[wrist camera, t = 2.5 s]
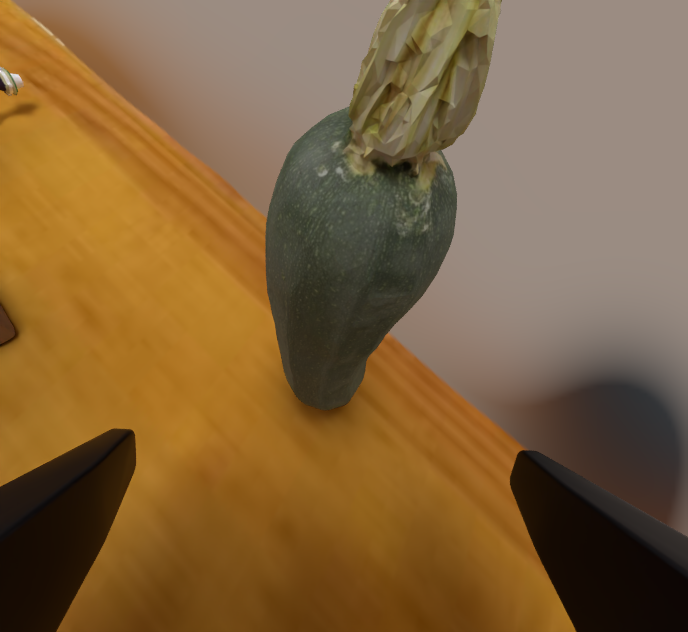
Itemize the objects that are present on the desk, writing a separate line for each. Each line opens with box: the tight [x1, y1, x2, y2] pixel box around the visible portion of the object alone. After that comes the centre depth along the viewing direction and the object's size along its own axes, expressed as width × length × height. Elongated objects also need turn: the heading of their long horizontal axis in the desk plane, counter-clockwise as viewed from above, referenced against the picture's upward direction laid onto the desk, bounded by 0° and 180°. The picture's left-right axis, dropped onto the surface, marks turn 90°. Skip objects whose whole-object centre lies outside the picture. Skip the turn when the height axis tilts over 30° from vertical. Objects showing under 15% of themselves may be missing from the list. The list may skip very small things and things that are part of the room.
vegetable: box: [266, 0, 502, 410], centre depth 12 cm, size 4×4×20 cm
